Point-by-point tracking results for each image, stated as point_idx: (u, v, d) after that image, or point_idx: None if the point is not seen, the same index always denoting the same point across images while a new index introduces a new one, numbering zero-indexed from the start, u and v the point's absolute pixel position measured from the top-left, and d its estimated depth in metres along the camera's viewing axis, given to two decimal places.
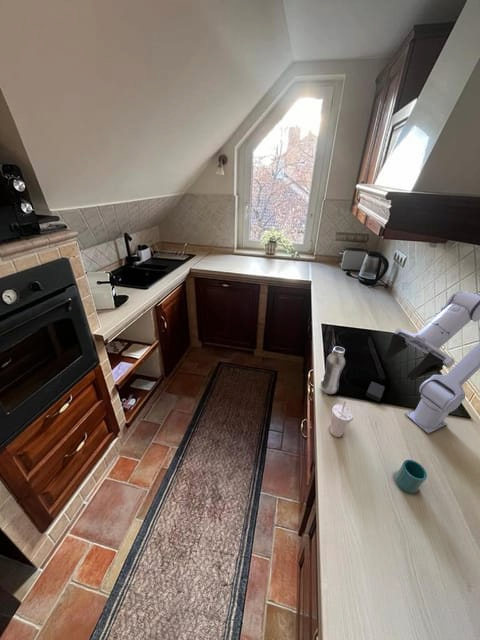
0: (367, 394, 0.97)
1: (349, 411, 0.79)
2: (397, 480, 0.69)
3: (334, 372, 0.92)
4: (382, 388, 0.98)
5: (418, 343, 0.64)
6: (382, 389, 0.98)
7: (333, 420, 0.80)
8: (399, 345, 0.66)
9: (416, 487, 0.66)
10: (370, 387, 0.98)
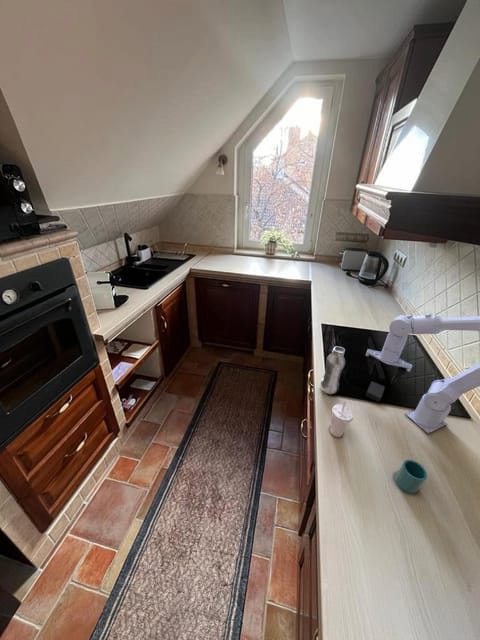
0: (367, 394, 0.97)
1: (349, 411, 0.79)
2: (397, 480, 0.69)
3: (334, 372, 0.92)
4: (382, 388, 0.98)
5: None
6: (382, 389, 0.98)
7: (333, 420, 0.80)
8: (397, 369, 0.90)
9: (416, 487, 0.66)
10: (370, 387, 0.98)
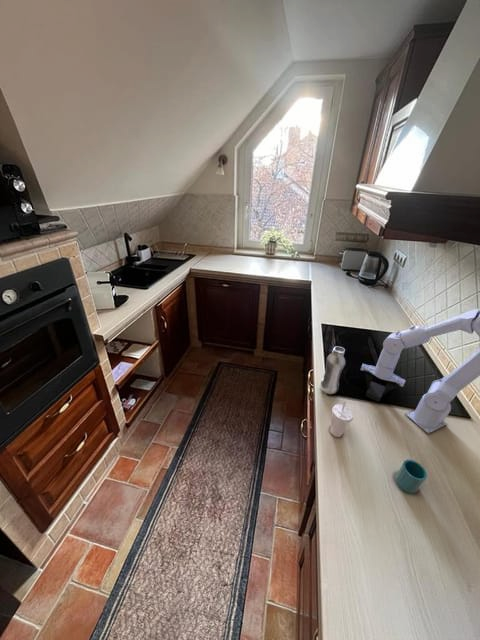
0: (367, 394, 0.97)
1: (349, 411, 0.79)
2: (397, 480, 0.69)
3: (334, 372, 0.92)
4: (382, 388, 0.98)
5: None
6: (382, 389, 0.98)
7: (333, 420, 0.80)
8: None
9: (416, 487, 0.66)
10: (370, 387, 0.99)
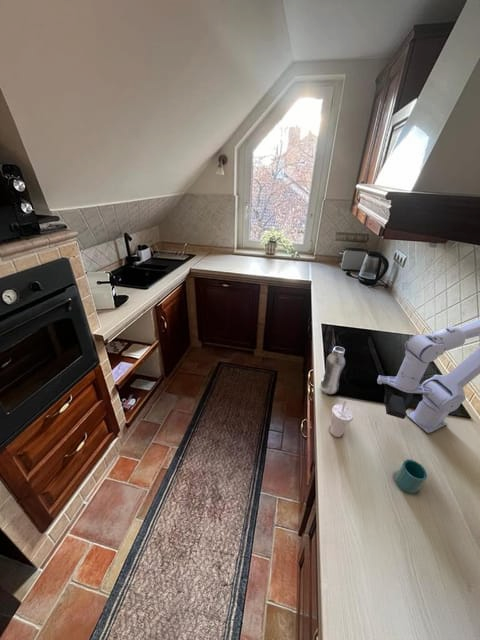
0: (389, 412, 0.79)
1: (349, 411, 0.79)
2: (397, 480, 0.69)
3: (334, 372, 0.92)
4: (401, 400, 0.82)
5: None
6: (402, 401, 0.81)
7: (333, 420, 0.80)
8: (410, 394, 0.78)
9: (416, 487, 0.66)
10: (389, 401, 0.81)
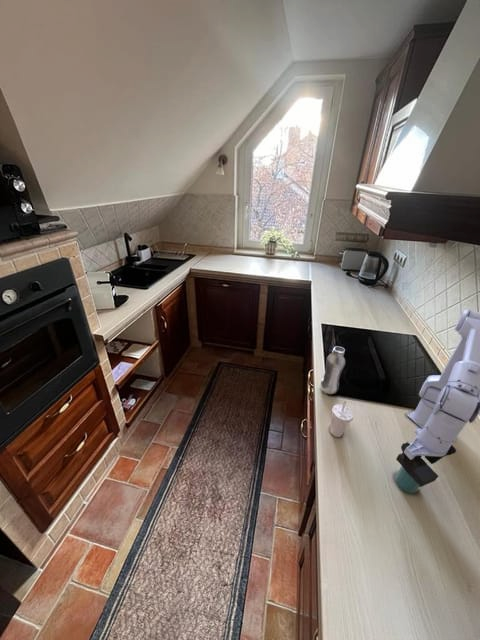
0: (423, 484, 0.62)
1: (349, 411, 0.79)
2: (397, 480, 0.69)
3: (334, 372, 0.92)
4: None
5: None
6: None
7: (333, 420, 0.80)
8: None
9: (416, 487, 0.66)
10: None
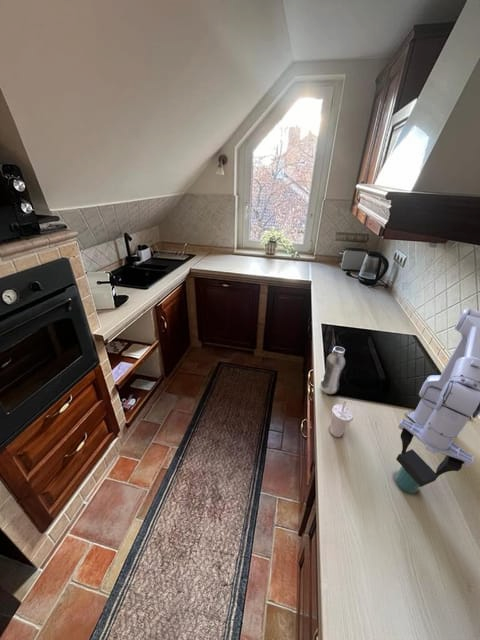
0: (423, 484, 0.62)
1: (349, 411, 0.79)
2: (397, 480, 0.69)
3: (334, 372, 0.92)
4: (416, 455, 0.68)
5: None
6: (418, 457, 0.67)
7: (333, 420, 0.80)
8: None
9: (416, 487, 0.66)
10: (413, 468, 0.65)
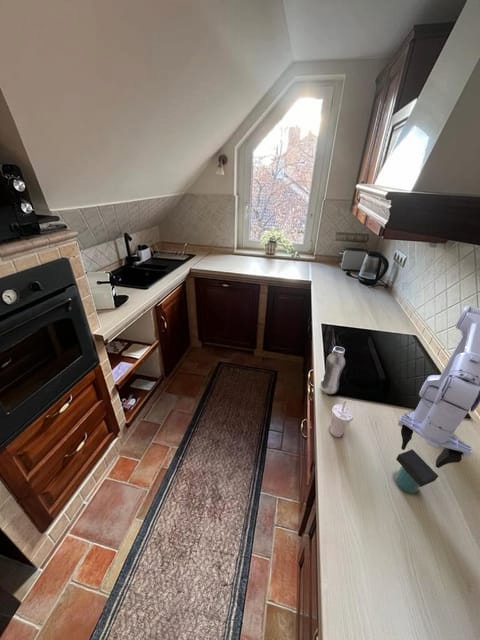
0: (423, 484, 0.62)
1: (349, 411, 0.79)
2: (397, 480, 0.69)
3: (334, 372, 0.92)
4: (416, 455, 0.68)
5: None
6: (418, 457, 0.67)
7: (333, 420, 0.80)
8: None
9: (416, 487, 0.66)
10: (413, 468, 0.65)
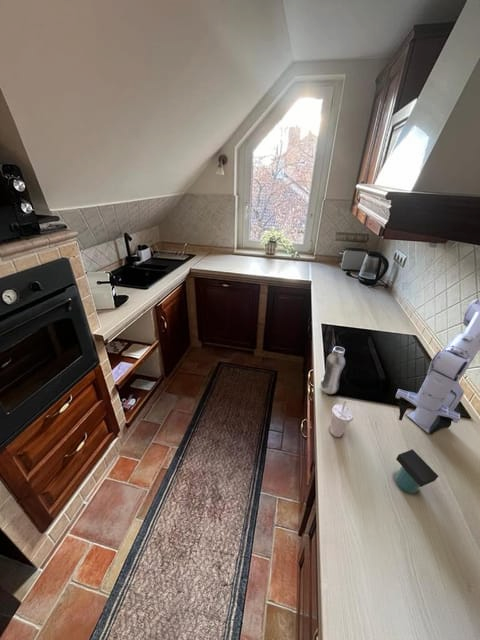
0: (423, 484, 0.62)
1: (349, 411, 0.79)
2: (397, 480, 0.69)
3: (334, 372, 0.92)
4: (416, 455, 0.68)
5: None
6: (418, 457, 0.67)
7: (333, 420, 0.80)
8: None
9: (416, 487, 0.66)
10: (413, 468, 0.65)
